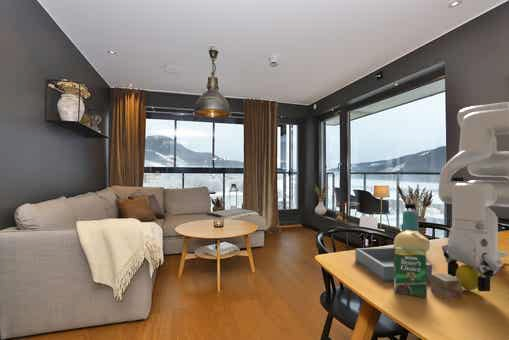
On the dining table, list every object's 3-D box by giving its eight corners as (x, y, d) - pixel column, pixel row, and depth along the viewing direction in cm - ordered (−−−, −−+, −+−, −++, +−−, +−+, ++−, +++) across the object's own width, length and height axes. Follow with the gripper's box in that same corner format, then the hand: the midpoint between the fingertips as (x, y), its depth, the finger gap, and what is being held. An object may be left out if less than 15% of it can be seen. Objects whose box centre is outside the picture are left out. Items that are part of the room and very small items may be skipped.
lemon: (484, 296, 72) (485, 268, 72) (462, 294, 73) (462, 266, 73) (472, 287, 78) (472, 261, 78) (451, 285, 79) (451, 260, 79)
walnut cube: (446, 289, 76) (446, 273, 76) (461, 298, 71) (461, 280, 71) (430, 290, 76) (430, 273, 76) (444, 299, 71) (445, 281, 71)
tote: (394, 259, 101) (395, 247, 101) (431, 280, 83) (431, 264, 83) (355, 261, 99) (355, 248, 99) (384, 282, 81) (384, 266, 81)
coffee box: (394, 293, 74) (394, 248, 74) (392, 289, 77) (393, 245, 76) (427, 298, 71) (427, 251, 71) (424, 294, 74) (424, 248, 74)
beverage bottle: (413, 250, 113) (413, 204, 113) (398, 245, 119) (399, 203, 119) (422, 247, 116) (422, 204, 116) (407, 244, 122) (407, 202, 122)
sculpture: (434, 262, 99) (435, 234, 99) (403, 261, 99) (403, 233, 99) (417, 252, 110) (417, 227, 110) (388, 251, 111) (389, 227, 111)
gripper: (511, 232, 67) (511, 297, 67) (453, 219, 84) (453, 271, 84) (486, 232, 66) (485, 298, 66) (432, 219, 83) (432, 271, 83)
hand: (467, 283), depth 75 cm, fingers open, 9 cm apart
